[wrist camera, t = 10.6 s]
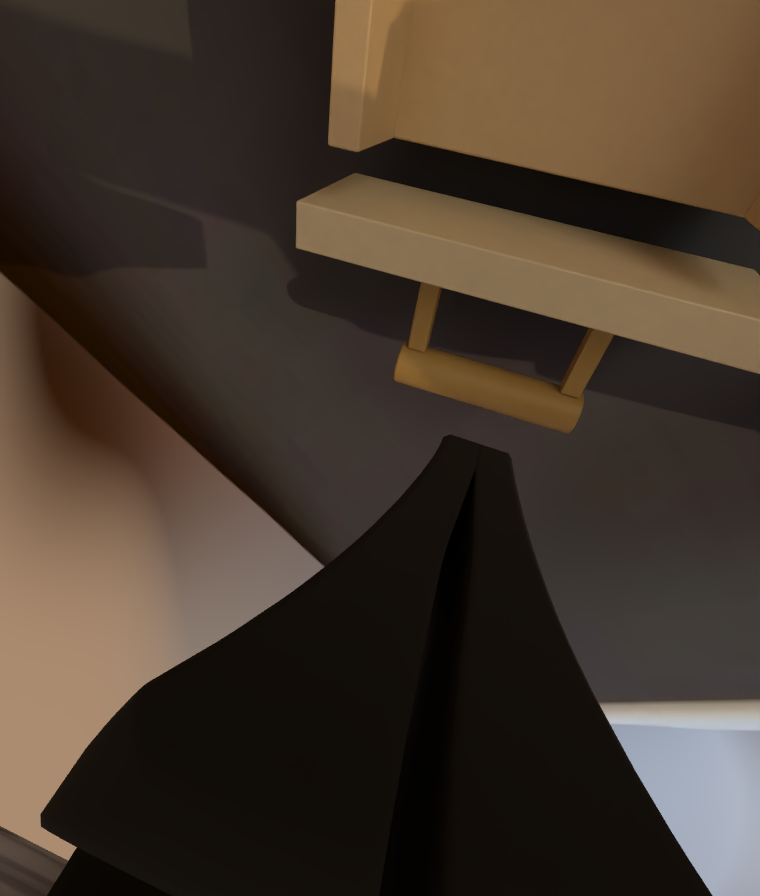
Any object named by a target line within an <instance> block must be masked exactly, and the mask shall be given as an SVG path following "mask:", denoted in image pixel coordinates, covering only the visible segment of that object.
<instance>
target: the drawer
mask: <svg viewBox="0 0 760 896" xmlns="http://www.w3.org/2000/svg"><path fill="white" fill-rule="evenodd" d="M392 138H397V139H401V140H406V141H410V142H415V143H419V144H423V145H428V146H432V147H437V148H441V149H445V150H450V151H454V152H458V153H463V154H467V155H472V156H476V157H480V158H485V159H489V160H494V161H498V162H502V163H507V164H511V165H515V166H520V167H524V168H529V169H533V170H537V171H542V172H546V173H551V174H555V175H559V176H564V177H568V178H573V179H577V180H581V181H586V182H590V183H594V184H599V185H603V186H608V187H612V188H616V189H621V190H625V191H630V192H634V193H638V194H643V195H647V196H652V197H656V198H660V199H665V200H669V201H673V202H678V203H682V204H687V205H691V206H695V207H700V208H704V209H709V210H713V211H717V212H722V213H726V214H731V215H735V216H739V217H744V218H745V219H746V220H748V221H749V222H750V223H751V224H752V225H753V226H755V227H756V228H757V229H758V230H759V231H760V0H335V16H334V36H333V55H332V74H331V94H330V113H329V133H328V145H330V146H333V147H337V148H341V149H346V150H350V151H354V152H359V151H362V150H364V149H367V148H369V147H372V146H374V145H377V144H379V143H382V142H384V141H387V140H389V139H392ZM296 248H298V249H301V250H305V251H309V252H312V253H316V254H320V255H323V256H327V257H331V258H334V259H338V260H342V261H345V262H349V263H353V264H356V265H360V266H364V267H367V268H371V269H375V270H379V271H382V272H386V273H390V274H393V275H397V276H401V277H404V278H408V279H412V280H415V281H419V282H421V284H420V289H419V294H418V299H417V304H416V308H415V313H414V318H413V323H412V328H411V332H410V337H409V341H405V342H404V344H403V346H402V348H401V350H400V352H399V355H398V358H397V362H396V366H395V370H394V380H395V381H396V382H400V383H403V384H406V385H410V386H413V387H416V388H419V389H423V390H426V391H429V392H432V393H436V394H439V395H442V396H445V397H449V398H452V399H455V400H459V401H462V402H465V403H468V404H472V405H475V406H478V407H481V408H485V409H488V410H491V411H495V412H498V413H501V414H504V415H508V416H511V417H514V418H517V419H521V420H524V421H527V422H531V423H534V424H537V425H540V426H544V427H547V428H550V429H553V430H557V431H560V432H563V433H570V432H571V431H572V429H573V428H574V427H575V425H576V423H577V421H578V419H579V417H580V414H581V412H582V409H583V405H584V393H582V392H583V390H584V388H585V387H586V385H587V383H588V381H589V380H590V378H591V376H592V374H593V372H594V371H595V369H596V367H597V365H598V363H599V362H600V360H601V358H602V356H603V354H604V353H605V351H606V349H607V347H608V345H609V344H610V342H611V340H612V338H613V336H614V335H618V336H621V337H625V338H629V339H632V340H636V341H640V342H644V343H647V344H651V345H655V346H658V347H662V348H666V349H669V350H673V351H677V352H680V353H684V354H688V355H691V356H695V357H699V358H702V359H706V360H710V361H713V362H717V363H721V364H724V365H728V366H732V367H736V368H739V369H743V370H747V371H750V372H754V373H758V374H760V276H759V274H758V273H757V272H756V271H755V270H754V269H750V268H746V267H742V266H738V265H733V264H729V263H725V262H721V261H717V260H713V259H709V258H704V257H700V256H696V255H692V254H688V253H684V252H680V251H676V250H671V249H667V248H663V247H659V246H655V245H651V244H647V243H643V242H638V241H634V240H630V239H626V238H622V237H618V236H614V235H610V234H605V233H601V232H597V231H593V230H589V229H585V228H581V227H576V226H572V225H568V224H564V223H560V222H556V221H552V220H548V219H543V218H539V217H535V216H531V215H527V214H523V213H519V212H515V211H510V210H506V209H502V208H498V207H494V206H490V205H486V204H481V203H477V202H473V201H469V200H465V199H461V198H457V197H453V196H448V195H444V194H440V193H436V192H432V191H428V190H424V189H420V188H415V187H411V186H407V185H403V184H399V183H395V182H391V181H387V180H382V179H378V178H374V177H370V176H366V175H362V174H358V173H353V174H351V175H349V176H347V177H345V178H343V179H341V180H339V181H337V182H335V183H333V184H331V185H329V186H327V187H325V188H323V189H321V190H319V191H317V192H315V193H313V194H311V195H309V196H307V197H305V198H302V199H300V200H298V201H297V203H296ZM442 288H445V289H448V290H452V291H456V292H459V293H463V294H467V295H471V296H474V297H478V298H482V299H485V300H489V301H493V302H496V303H500V304H504V305H507V306H511V307H515V308H518V309H522V310H526V311H529V312H533V313H537V314H540V315H544V316H548V317H552V318H555V319H559V320H563V321H566V322H570V323H574V324H577V325H581V326H585V327H588V330H587V332H586V334H585V336H584V338H583V340H582V342H581V344H580V346H579V348H578V350H577V352H576V354H575V356H574V358H573V360H572V362H571V364H570V366H569V368H568V370H567V372H566V374H565V376H564V378H563V379H562V381H561V386H560V385H556V384H553V383H549V382H546V381H542V380H539V379H536V378H532V377H529V376H525V375H522V374H518V373H515V372H512V371H508V370H505V369H501V368H498V367H494V366H491V365H488V364H484V363H481V362H477V361H474V360H470V359H467V358H464V357H460V356H457V355H453V354H450V353H446V352H443V351H440V350H436V349H433V348H429V347H427V346H428V344H429V340H430V336H431V332H432V328H433V324H434V320H435V316H436V312H437V308H438V304H439V299H440V295H441V291H442Z"/></svg>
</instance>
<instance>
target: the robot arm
mask: <svg viewBox="0 0 760 896" xmlns="http://www.w3.org/2000/svg"><path fill="white" fill-rule="evenodd" d="M41 827H43V828H44V829H46V830H47V831H49V832H51V833H52V834H54V835H56V836H58V837H59V838H61V839H63V840H65V841H67V842H69V843H70V844H72V845H74V846H76V847H77V848H76V850H75V851H74V853H73V854H72V856H71V858H70V859H69V861H68V860H66V859H64V858H62V857H60V856H58V855H56V854H54V853H52V852H50V851H48V850H46V849H44V848H42V847H40V846H38V845H36V844H34V843H32V842H30V841H28V840H26V839H24V838H22V837H20V836H18V835H16V834H15V833H13V832H11V831H9V830H7V829H5V828H3V827H1V826H0V896H712V894H711V893H710V891H709V890H708V888H707V887H706V885H705V884H704V882H703V881H702V879H701V877H700V876H699V874H698V873H697V871H696V870H695V868H694V867H693V865H692V864H691V862H690V861H689V859H688V858H687V856H686V855H685V853H684V851H683V849H682V848H681V846H680V845H679V843H678V841H677V840H676V838H675V837H674V835H673V834H672V832H671V830H670V829H669V827H668V825H667V824H666V822H665V820H664V819H663V817H662V815H661V813H660V812H659V810H658V808H657V807H656V805H655V803H654V802H653V800H652V798H651V797H650V795H649V793H648V792H647V790H646V788H645V787H644V785H643V783H642V781H641V780H640V778H639V776H638V775H637V773H636V772H635V770H634V768H633V766H632V764H631V762H630V761H629V759H628V757H627V755H626V753H625V751H624V749H623V747H622V746H621V744H620V742H619V740H618V738H617V736H616V735H615V733H614V731H613V729H612V727H611V725H610V724H609V722H608V720H607V718H606V716H605V714H604V712H603V711H602V709H601V707H600V705H599V703H598V701H597V700H596V698H595V696H594V694H593V692H592V690H591V688H590V686H589V684H588V682H587V680H586V678H585V676H584V674H583V671H582V669H581V667H580V665H579V663H578V661H577V659H576V657H575V655H574V653H573V651H572V648H571V646H570V644H569V642H568V639H567V637H566V635H565V633H564V630H563V628H562V626H561V623H560V621H559V619H558V616H557V614H556V611H555V609H554V606H553V604H552V601H551V599H550V596H549V594H548V591H547V588H546V585H545V583H544V580H543V577H542V574H541V572H540V569H539V566H538V563H537V560H536V557H535V554H534V551H533V547H532V544H531V541H530V537H529V534H528V530H527V527H526V524H525V520H524V516H523V513H522V509H521V505H520V500H519V496H518V492H517V487H516V483H515V477H514V472H513V466H512V459H511V457H510V455H509V454H508V453H505V452H502V451H499V450H496V449H493V448H490V447H487V446H484V445H481V444H478V443H475V442H472V441H469V440H466V439H463V438H460V437H456V436H453V435H448V436H445V437H443V440H442V442H441V444H440V446H439V448H438V450H437V451H436V453H435V455H434V456H433V458H432V459H431V460H430V462H429V463H428V465H427V466H426V467H425V469H424V470H423V471H422V473H421V474H420V475H419V476H418V477H417V479H416V480H415V481H414V482H413V483H412V484H411V486H410V487H409V488H408V489H407V490H406V492H405V493H404V494H403V495H402V496H401V497H400V498H399V499H398V500H397V502H396V503H395V504H394V505H393V506H392V507H391V508H390V509H389V510H388V511H387V512H386V513H385V514H384V515H383V516H382V517H381V518H380V519H379V520H378V521H377V522H376V523H375V524H374V525H373V526H372V527H371V528H370V529H368V530H367V531H366V532H365V533H364V534H363V535H362V536H361V537H360V538H359V539H358V540H356V541H355V542H354V543H353V544H352V545H351V546H350V547H348V548H347V549H346V550H345V551H344V552H343V553H341V554H340V555H339V556H338V557H337V558H335V559H334V560H333V561H332V562H330V563H329V564H328V565H327V566H325V567H324V568H323V569H322V570H320V571H319V572H318V573H316V574H315V575H314V576H313V577H311V578H310V579H309V580H307V581H306V582H305V583H303V584H302V585H301V586H299V587H298V588H297V589H295V590H294V591H293V592H291V593H290V594H288V595H287V596H286V597H284V598H283V599H281V600H280V601H279V602H277V603H275V604H274V605H272V606H271V607H269V608H268V609H266V610H265V611H264V612H262V613H261V614H259V615H257V616H256V617H254V618H253V619H252V620H250V621H249V622H247V623H246V624H244V625H243V626H241V627H240V628H238V629H237V630H235V631H234V632H232V633H230V634H229V635H227V636H226V637H224V638H222V639H221V640H219V641H218V642H216V643H214V644H213V645H211V646H209V647H207V648H206V649H204V650H202V651H201V652H199V653H197V654H196V655H194V656H192V657H191V658H189V659H187V660H186V661H184V662H182V663H180V664H179V665H177V666H175V667H174V668H172V669H170V670H168V671H167V672H165V673H163V674H162V675H160V676H158V677H156V678H155V679H153V680H151V681H150V682H148V683H147V684H146V685H144V686H143V687H142V688H141V689H139V690H138V691H137V693H135V694H134V695H133V696H132V697H131V698H130V699H129V700H128V702H127V703H126V704H125V705H124V706H123V707H122V708H121V709H120V710H119V711H118V712H117V713H116V714H115V715H114V716H113V717H112V718H111V720H110V721H109V722H108V723H107V724H106V725H105V726H104V727H103V729H102V730H101V731H100V732H99V733H98V735H97V736H96V737H95V738H94V739H93V741H92V742H91V743H90V744H89V745H88V747H87V748H86V749H85V751H84V752H83V754H82V755H81V757H80V758H79V759H78V761H77V762H76V764H75V765H74V766H73V768H72V769H71V771H70V772H69V774H68V775H67V777H66V778H65V780H64V781H63V782H62V784H61V785H60V787H59V788H58V790H57V791H56V793H55V794H54V796H53V797H52V798H51V800H50V801H49V803H48V804H47V806H46V807H45V809H44V810H43V812H42V813H41Z"/></svg>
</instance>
